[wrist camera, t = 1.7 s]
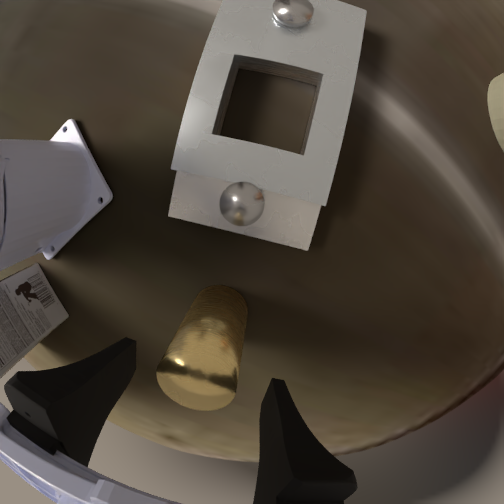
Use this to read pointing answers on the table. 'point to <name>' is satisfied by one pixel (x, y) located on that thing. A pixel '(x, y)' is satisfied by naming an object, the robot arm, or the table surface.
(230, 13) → the square-hole plate
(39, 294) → the coffee box
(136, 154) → the table surface
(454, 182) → the table surface
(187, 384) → the brass pin
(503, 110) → the reusable coffee cup
